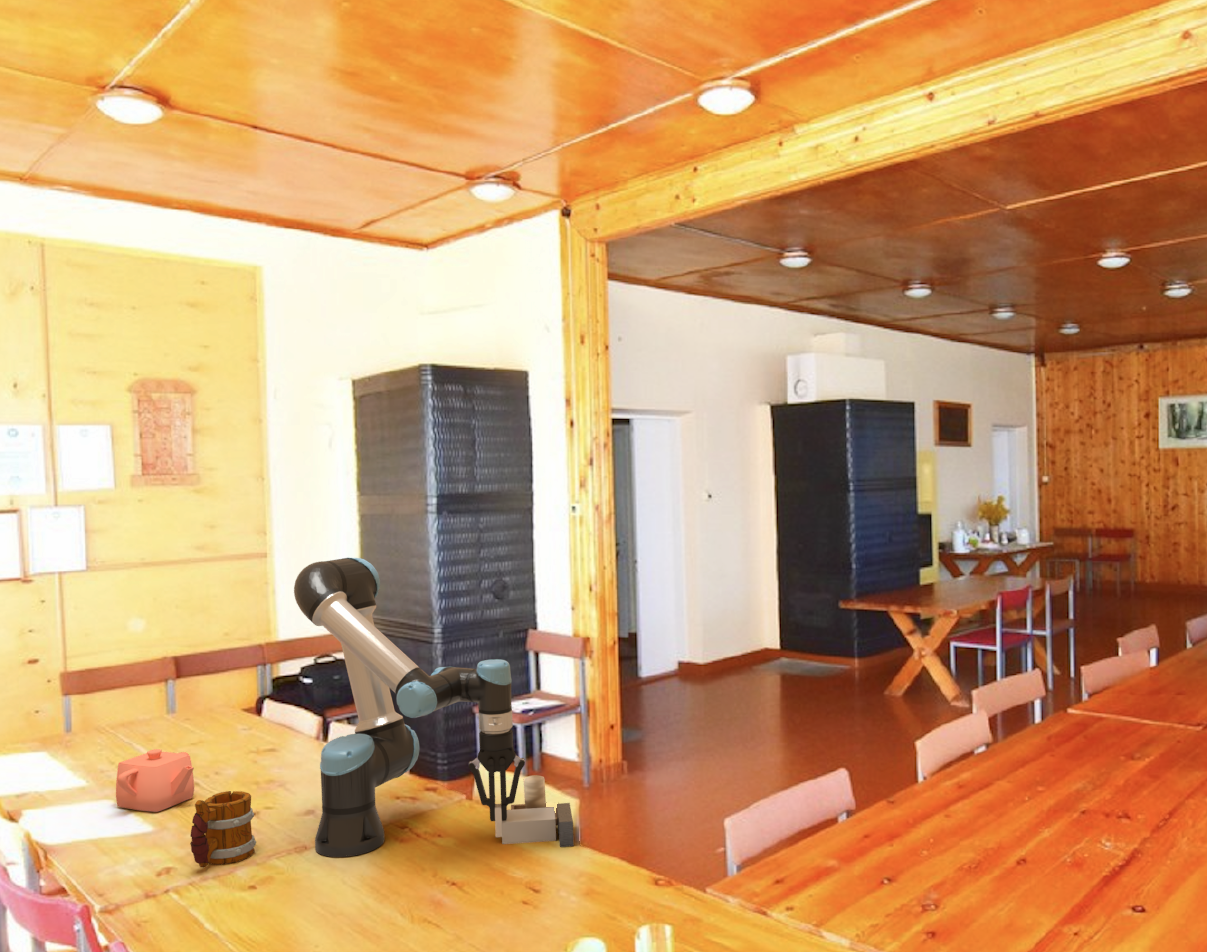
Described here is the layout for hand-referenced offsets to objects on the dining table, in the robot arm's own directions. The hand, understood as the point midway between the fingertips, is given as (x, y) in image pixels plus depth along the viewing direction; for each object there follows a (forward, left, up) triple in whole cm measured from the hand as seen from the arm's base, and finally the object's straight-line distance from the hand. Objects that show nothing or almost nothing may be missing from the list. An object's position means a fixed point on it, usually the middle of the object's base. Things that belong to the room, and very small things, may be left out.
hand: (499, 834), depth 211 cm
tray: (+8, +13, -2) cm, 16 cm away
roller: (+9, +13, -1) cm, 16 cm away
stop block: (+15, 0, -2) cm, 15 cm away
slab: (+7, +2, -2) cm, 7 cm away
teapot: (-88, +41, -2) cm, 97 cm away
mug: (-61, 0, -2) cm, 61 cm away
